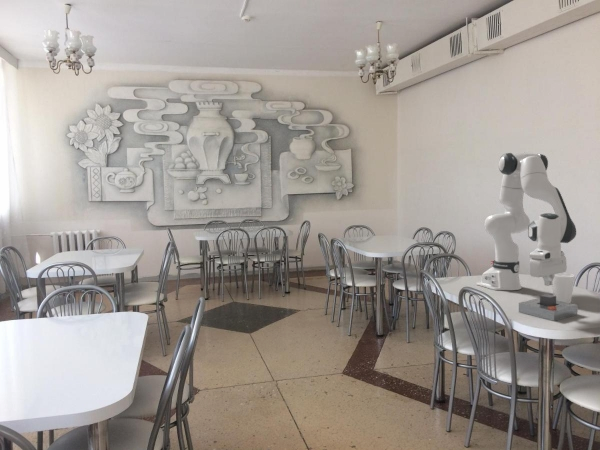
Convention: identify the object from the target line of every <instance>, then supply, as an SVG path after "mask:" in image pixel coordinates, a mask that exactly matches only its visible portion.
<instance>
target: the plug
mask: <svg viewBox="0 0 600 450" xmlns="http://www.w3.org/2000/svg"><path fill="white" fill-rule="evenodd" d="M539 298H540V305H545V306H555V305H556V296H554V294H549V293H548V294H547V293H545V294H542V295H539Z"/></svg>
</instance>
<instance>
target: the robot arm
mask: <svg viewBox="0 0 600 450" xmlns="http://www.w3.org/2000/svg"><path fill="white" fill-rule="evenodd" d="M548 167H549V161H548V157H547V156H546V155H545V154H541V153H533V152H513V153H512V152H507V153H504V154H502V155H501V156H500V158H499V161H498V169H499V172H500V173H501V174H503V175H502V178H501V183H500V189H499V197H498V200H499V203H500V204H501V205H503V208H504V213H495V214H492V215H488V216H487V217H486V218H485V220H484V224H483V226H484V229H485V231H486V232H487V234H489V236H491V238H492V241H493V243H494V252H495V256H494V257H495V258H494V260H492V261H490V264H492V267H490V268H489V269H487V270H486V271H484V272H483V273H482V275H481V279H480V280H479V281H477V282H476V286H477V285H478V286H480V287H484V288H487V289H490V290H493V291H518V290H521V289H522V285H521V279H520V275H519V274H520V261H519V248H520V247H519V245H518V244H517V243H516V242H514V241H513V238H512V235H513V234H514V235H515V234H521V233H523V232H525V231H527V237H528V239H530V240H531V241H532V242H535V243H537V244H536V245H537V247H536V248H535V249H534V250H532V251H531V252H530V253H529V254H528V255H529V258H530V260H529V275H530V276H531V277H532V278H542V279H543V281H544V283H543V284H544V286H545V287H547V286H552V284H553V279H554V277H555V274H558V273H567V267H568V266H567V259H566V255H565V252H563V250H562V243H563V244H568V243H570V242H572V241H573V240H574V239H575V238H576V236H577V229H576V225H575V223H574V221H573V220H572V218H571V216H570V214H569V212H568V211H569V210H568V208H567V205H566V203H565V201H564V198H563V197H562V194H561V192H560V190H559V189H558V188H557V187H555V186H554V185H553V184H552V183H551V182H550V180H549V178H548V173H547V170H548ZM524 193H525V195H526V196H529V197H530V198H533V199H536V200H540V201H543V202H545V203H548V204H549V205H550V206H551V208H552V210H553V211H554V213H552V212H551V213H550V212H549V213H547V212H546V213H542V214H540V215H538V219H536V220H533V221H530V217H529V216H528V215H527V214H526V213H525V209H524Z"/></svg>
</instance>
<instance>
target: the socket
mask: <svg viewBox="0 0 600 450" xmlns="http://www.w3.org/2000/svg"><path fill="white" fill-rule="evenodd" d="M578 307H579V306H578V304H576V303H571V302H570V303H566V302H561V301H557V300H556V305H555V306H545V305H540V297H539V298H534V299H530V300H525V301H521V302H518V313H520V314H525V315H528V316H533V317H538V318H540V319H545V320H549V321H552V322H555V321H558V320H563V319H566V318H569V317H573V316H577V315H578V310H579V309H578Z"/></svg>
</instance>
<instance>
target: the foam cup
mask: <svg viewBox="0 0 600 450" xmlns="http://www.w3.org/2000/svg"><path fill="white" fill-rule="evenodd" d="M575 281H576V274H572V273H567V272H563V273H558V274H555V277H554V279H553V284H552V285H551V286H552V293H553V294H552V295H554V296H556V300H557V301H561V302H566V303H571V302H572V297H573V292H574V285H575Z"/></svg>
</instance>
